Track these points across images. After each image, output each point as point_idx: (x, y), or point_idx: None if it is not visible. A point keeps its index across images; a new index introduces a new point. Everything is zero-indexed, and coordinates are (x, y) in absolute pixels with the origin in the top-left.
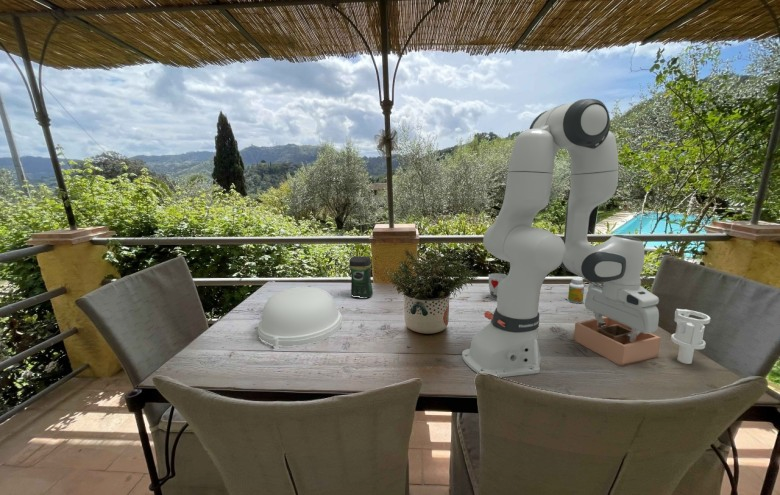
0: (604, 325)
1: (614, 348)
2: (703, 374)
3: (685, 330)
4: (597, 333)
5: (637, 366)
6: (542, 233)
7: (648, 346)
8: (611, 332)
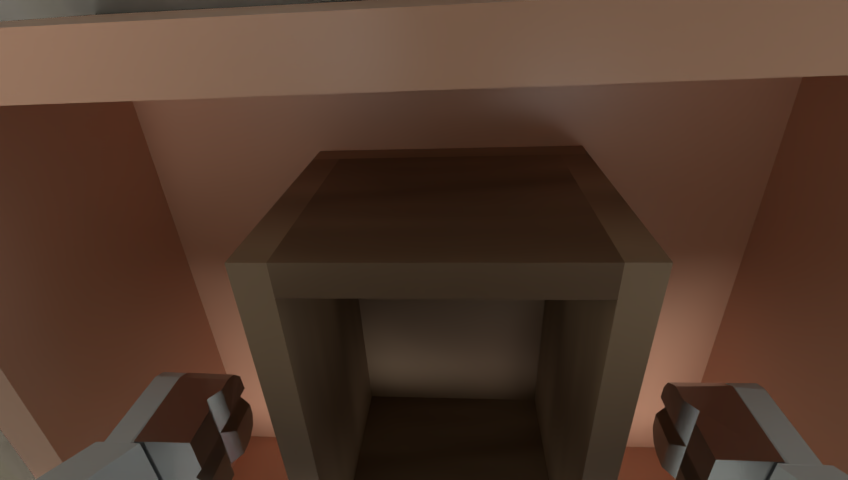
0: (674, 463)
1: (72, 19)
2: (17, 453)
3: None
4: (451, 3)
5: None
6: None
7: None
8: (555, 420)
